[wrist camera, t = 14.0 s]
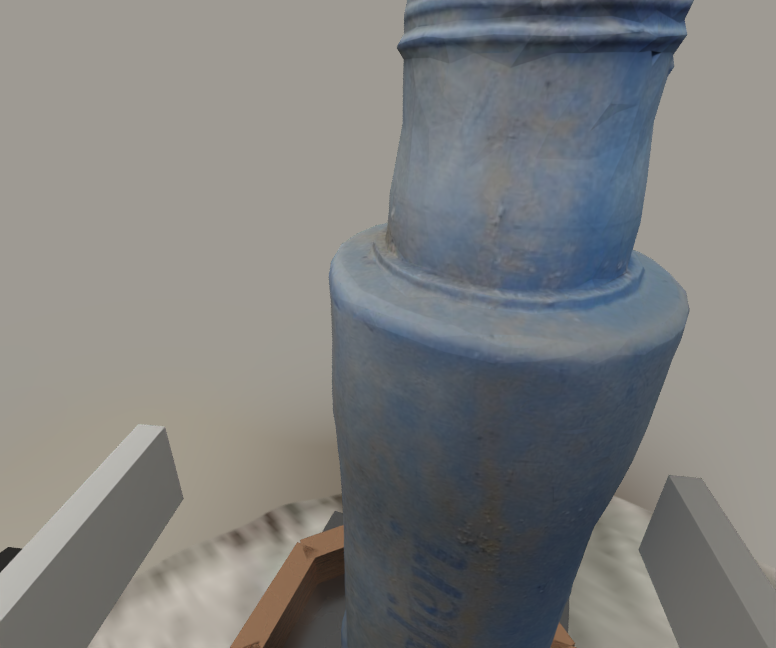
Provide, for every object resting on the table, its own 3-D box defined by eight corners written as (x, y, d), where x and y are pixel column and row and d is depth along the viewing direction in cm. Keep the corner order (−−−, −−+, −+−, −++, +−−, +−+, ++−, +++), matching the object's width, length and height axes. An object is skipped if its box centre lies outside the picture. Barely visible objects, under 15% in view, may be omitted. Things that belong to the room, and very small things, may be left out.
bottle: (380, 561, 29) (391, -18, 15) (540, 616, 26) (742, -32, 12) (309, 741, 21) (188, -131, 7) (527, 846, 18) (1068, -245, 4)
